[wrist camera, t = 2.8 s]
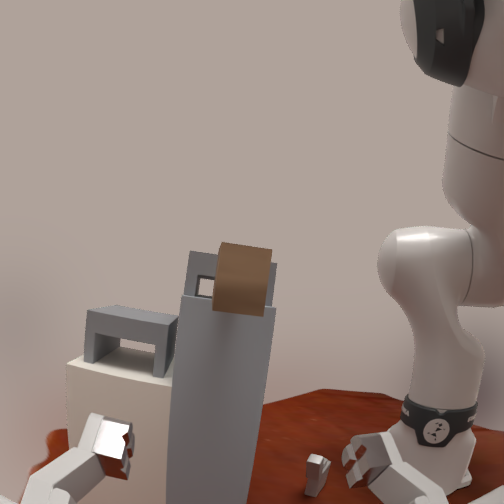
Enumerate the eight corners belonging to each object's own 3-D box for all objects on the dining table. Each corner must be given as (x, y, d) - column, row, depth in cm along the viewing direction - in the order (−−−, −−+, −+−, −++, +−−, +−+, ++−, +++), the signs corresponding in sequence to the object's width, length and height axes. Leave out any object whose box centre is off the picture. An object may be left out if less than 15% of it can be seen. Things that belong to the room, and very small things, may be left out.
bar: (263, 317, 18) (272, 249, 19) (212, 310, 18) (221, 242, 18) (237, 297, 35) (242, 261, 36) (211, 293, 35) (216, 257, 35)
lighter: (313, 481, 36) (324, 437, 37) (324, 484, 35) (336, 439, 36) (295, 504, 30) (307, 457, 31) (307, 507, 29) (321, 460, 30)
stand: (240, 534, 23) (282, 261, 27) (77, 506, 21) (80, 231, 25) (230, 480, 35) (259, 269, 39) (103, 460, 33) (116, 248, 37)
